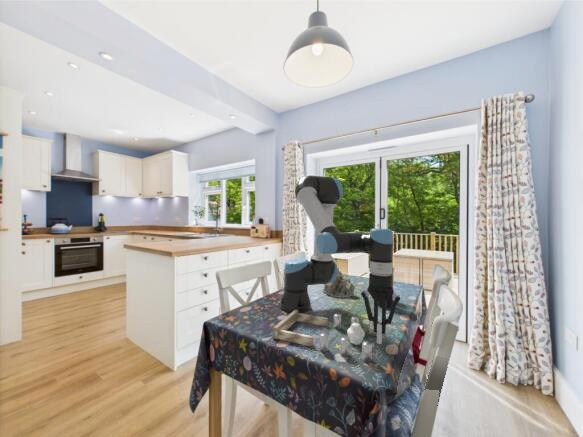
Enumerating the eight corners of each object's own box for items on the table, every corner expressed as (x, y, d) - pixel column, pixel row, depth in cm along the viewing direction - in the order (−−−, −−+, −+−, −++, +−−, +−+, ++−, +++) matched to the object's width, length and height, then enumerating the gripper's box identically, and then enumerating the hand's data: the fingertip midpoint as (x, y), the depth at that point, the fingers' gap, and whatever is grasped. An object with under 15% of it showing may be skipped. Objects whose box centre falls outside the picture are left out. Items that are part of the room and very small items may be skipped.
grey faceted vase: (367, 342, 91) (368, 322, 91) (359, 348, 86) (360, 328, 86) (352, 336, 95) (352, 318, 95) (343, 342, 90) (344, 323, 90)
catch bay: (273, 338, 93) (273, 327, 92) (295, 318, 111) (295, 309, 111) (311, 347, 87) (312, 335, 87) (327, 325, 105) (328, 315, 105)
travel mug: (374, 305, 129) (374, 266, 129) (381, 302, 134) (381, 264, 134) (388, 310, 123) (389, 268, 123) (395, 306, 129) (396, 267, 129)
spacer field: (318, 350, 85) (318, 335, 85) (334, 325, 105) (334, 313, 105) (371, 362, 78) (371, 346, 78) (377, 333, 98) (377, 320, 98)
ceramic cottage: (318, 291, 152) (321, 267, 151) (341, 289, 159) (343, 266, 158) (334, 301, 138) (336, 274, 137) (357, 298, 145) (360, 272, 144)
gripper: (359, 273, 86) (358, 342, 86) (401, 278, 81) (399, 351, 81) (362, 269, 93) (361, 333, 93) (401, 273, 88) (400, 341, 88)
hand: (379, 342), depth 87 cm, fingers closed
